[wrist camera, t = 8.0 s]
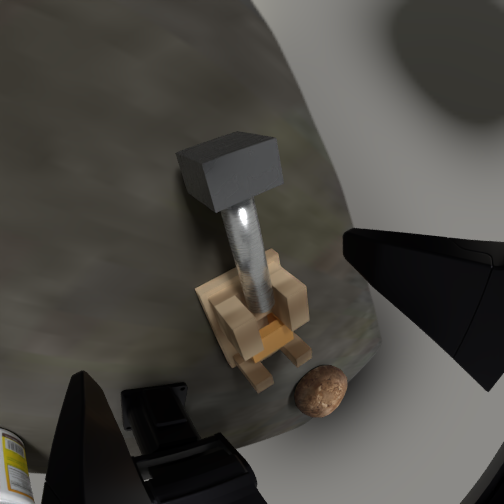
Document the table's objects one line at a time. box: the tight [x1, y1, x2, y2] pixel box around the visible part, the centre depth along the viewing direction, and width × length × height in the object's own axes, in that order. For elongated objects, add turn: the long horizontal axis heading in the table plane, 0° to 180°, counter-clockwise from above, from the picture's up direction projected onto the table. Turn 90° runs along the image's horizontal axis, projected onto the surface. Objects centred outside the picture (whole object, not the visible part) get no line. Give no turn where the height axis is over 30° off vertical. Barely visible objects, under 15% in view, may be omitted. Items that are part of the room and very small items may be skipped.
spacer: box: [251, 312, 294, 363], centre depth 24 cm, size 2×4×3 cm, turn 103°
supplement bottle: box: [0, 428, 35, 504], centre depth 12 cm, size 6×6×10 cm
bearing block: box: [195, 249, 312, 393], centre depth 24 cm, size 10×7×5 cm
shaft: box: [176, 131, 284, 314], centre depth 18 cm, size 12×4×4 cm, turn 14°
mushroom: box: [294, 365, 347, 417], centre depth 38 cm, size 8×8×6 cm
